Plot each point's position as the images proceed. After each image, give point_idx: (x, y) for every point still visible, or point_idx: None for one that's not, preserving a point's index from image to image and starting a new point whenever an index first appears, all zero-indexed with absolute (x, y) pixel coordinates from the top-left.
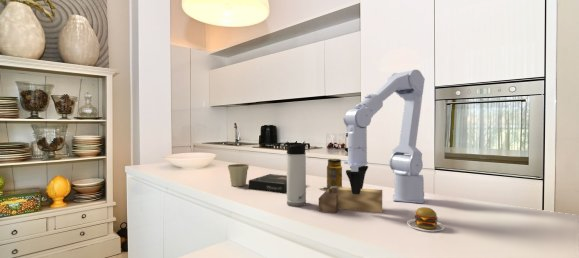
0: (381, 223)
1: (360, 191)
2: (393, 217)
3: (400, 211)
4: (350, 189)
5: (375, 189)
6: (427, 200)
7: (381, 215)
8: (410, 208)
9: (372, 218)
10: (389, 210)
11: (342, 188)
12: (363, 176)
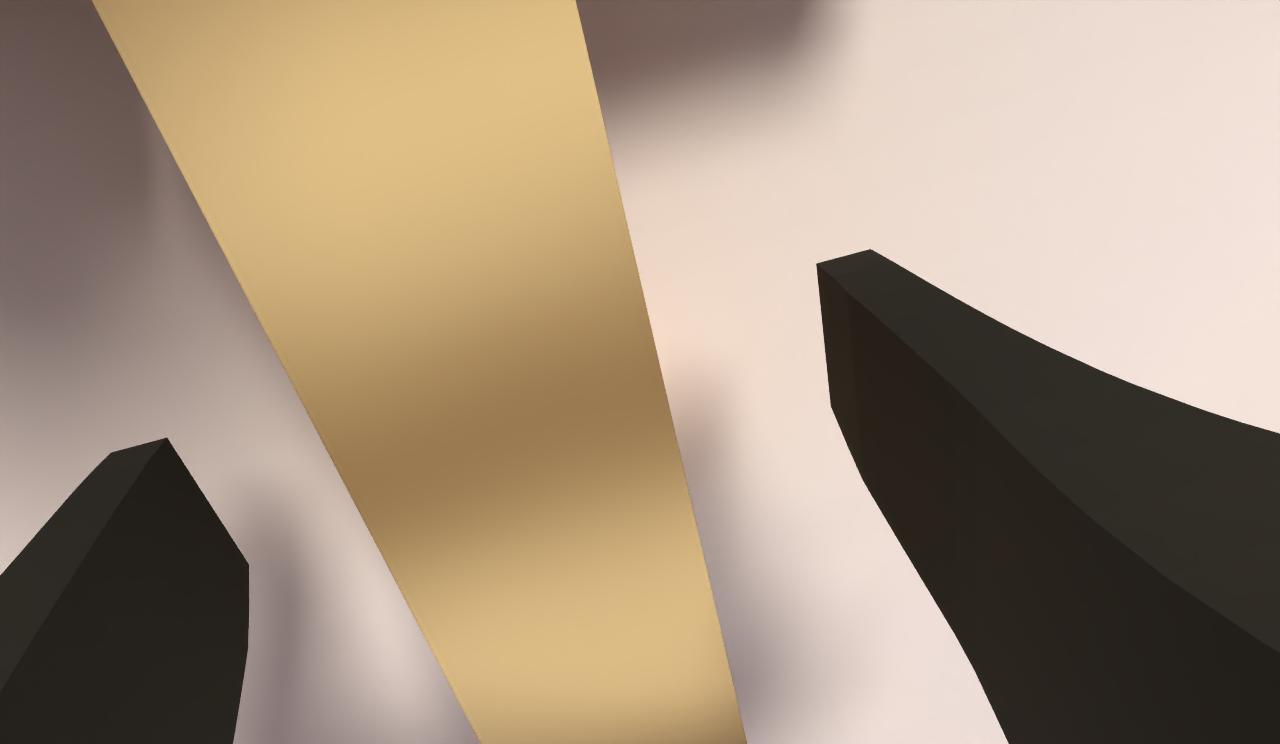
0: None
1: (384, 555)
2: (372, 695)
3: None
4: (383, 313)
5: (733, 693)
6: None
7: (353, 588)
8: (866, 690)
9: None
10: None
11: (340, 30)
12: (1004, 704)
